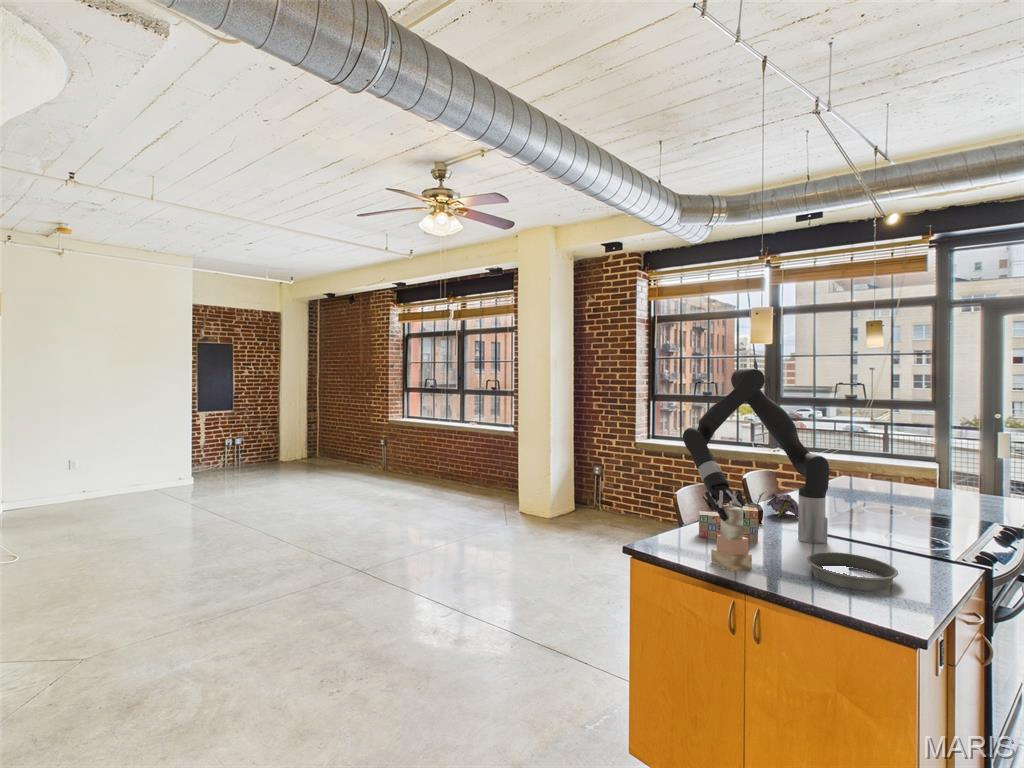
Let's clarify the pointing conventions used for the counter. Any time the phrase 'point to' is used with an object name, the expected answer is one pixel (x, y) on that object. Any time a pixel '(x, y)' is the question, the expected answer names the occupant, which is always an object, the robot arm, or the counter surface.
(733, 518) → the pillar
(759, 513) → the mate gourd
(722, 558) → the tower base
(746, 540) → the tower top
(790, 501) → the decorative flower
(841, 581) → the cake pan
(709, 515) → the stack of blocks
